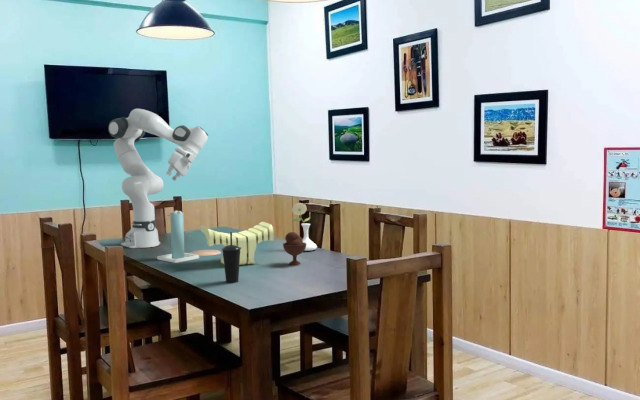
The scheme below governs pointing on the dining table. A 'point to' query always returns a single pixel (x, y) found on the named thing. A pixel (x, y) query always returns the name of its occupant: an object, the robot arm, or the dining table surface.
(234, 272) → the drinking cup
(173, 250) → the teal cylinder
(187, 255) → the tray
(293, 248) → the ice cream bowl
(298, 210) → the flower in vase
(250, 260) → the slatted curved stool
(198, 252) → the terracotta plate
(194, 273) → the dining table surface
